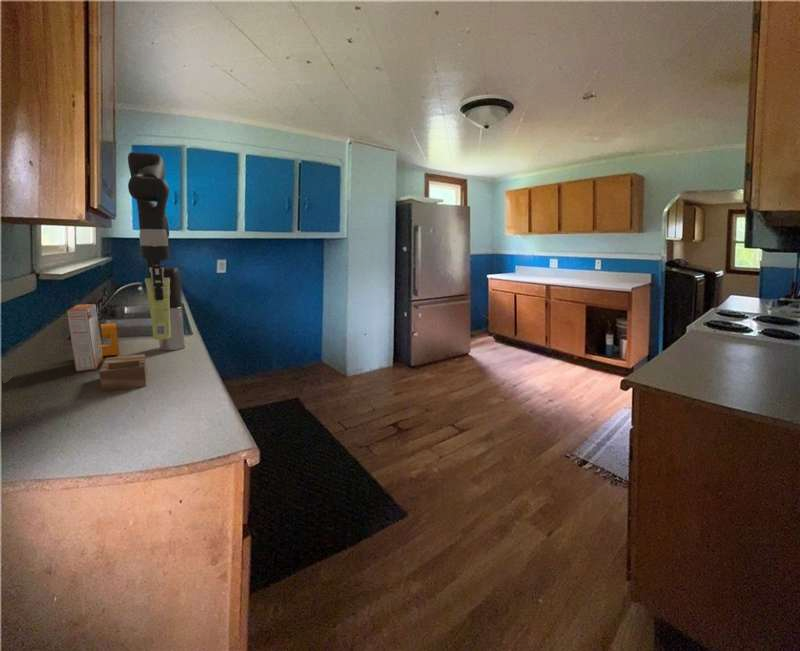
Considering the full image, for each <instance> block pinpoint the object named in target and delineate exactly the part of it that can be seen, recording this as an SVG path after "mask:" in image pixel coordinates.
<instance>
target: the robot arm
mask: <svg viewBox="0 0 800 651" xmlns="http://www.w3.org/2000/svg"><path fill="white" fill-rule="evenodd" d="M127 155H128V156H127V163H128V169H129V173H130V178H129V180H128V182H127V190H128V193H129V194H130V196H131V198H133V199H134V200H136V206H137V214H138V215H137V216H138V226H139V236H138V237H139V247H140V256H141V260H143V261H146V269H147V270H146V271H147V278H151V280H152V281H153V283H154V284H153V287H154V288H155V289H154V290H155V299H156V300H163V281H164V278H170V290H169V304H170V331H171V337H170V338H167V339H158V345H159V350H160V351H176V350H182V349H185V348H186V345H185V343H186V342H185V332H184V329H185V328H184V319H183V307H182V289H181V287H182V286H181V282H182V281H181V273H180V270H179V269H178V268H177V267H171V266H170V267H169V266H166V267H165V266H164V265H161V262H162V261H169V260H170V250H169V249H170V248H169V238H170V228H169V222H168V217H167V215H166V210H167V209H166V208H167V203H168V199H169V195H170V186H169V184H168V182H167V181H166V180H165V178H166V167H165V162H164V160H163V158H162V156H161V155H159V154H158V153H152V152H150V153H149V152H134V151H133V152H129V153H128V154H127ZM155 281H160V282H161V283H155ZM181 348H182V349H181Z"/></svg>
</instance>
